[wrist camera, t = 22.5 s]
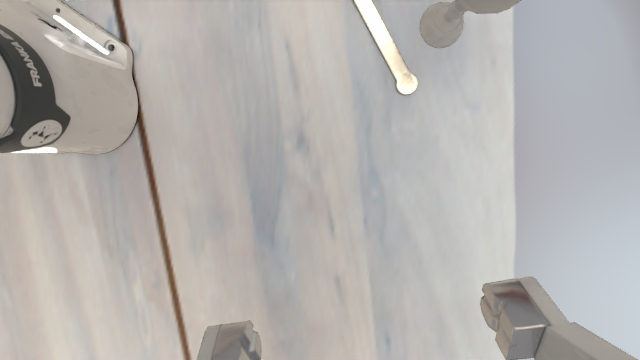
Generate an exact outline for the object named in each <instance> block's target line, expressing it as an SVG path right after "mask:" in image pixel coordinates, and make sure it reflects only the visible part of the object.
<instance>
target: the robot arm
mask: <svg viewBox="0 0 640 360" xmlns="http://www.w3.org/2000/svg"><path fill="white" fill-rule="evenodd" d="M113 46H114V47H115V49H114V51H113V49H112V48H113ZM132 66H133V54H132V51H131V49H130V48H129V46H127V45H126V44H124V43H123V42H121V41H120V40H118V39H117V38H115V37H114V36H112V35H111V34H109V33H108V32H106V31H105V30H103V29H102V28H100V27H99V26H97V25H96V24H94V23H93V22H91V21H90V20H88V19H87V18H85V17H84V16H82V15H81V14H79V13H78V12H76V11H75V10H73V9H72V8H70V7H69V6H67V5H66V4H64V3H63V2H61V1H60V0H0V153H9V152H12V153H49V154H60V153H65V152H78V153H85V154H102V153H107V152H109V151H112V150H114V149H116V148H117V147H119V146H120V145H121V144H123V143H124V142H125V141H126V139H127V138H128V137H129V135H130V134H131V132H132V130H133V128H134V126H135V123H136V119H137V114H138V97H137V92H136V88H135V85H134V81H133V77H132ZM482 291H483V293H484V296H483V297H482V298H481V303H480V305H481V310H482V314H483V316H484V319H485V321H486V323H487V325H488V327H490V328H491V329H492V330H494V331H495V332H497V333H496V339H495V340H496V342H497V344H498V346H499V348H500V350H501V352H502V354H503V355H504V357H505V359H506V360H517V359H526V358H534V359H535V360H637V359H636V358H634V357H633V356H631V355H629V354H627V353H626V352H624V351H622V350H621V349H619V348H617V347H616V346H614V345H612V344H611V343H609V342H607V341H606V340H604V339H602V338H600V337H599V336H597V335H595V334H594V333H592V332H590V331H589V330H587V329H585V328H584V327H582V326H580V325H579V324H577V323H575V322H573V323H569V321H568V320H567V319H566V317H565V316H564V315H563V313H562V312H561V311H560V310H559V309H558V307H557V306H556V304H555V303H554V302H553V300H552V299H551V298H550V297H549V295H548V294H547V293H546V291H545V290H544V289H543V288H542V286H541V285H540V284H539V282H538V281H537V280H536V279H535V278H533V277H530V276H529V277H523V278H517V279H509V280H503V281H497V282H491V283H486V284H484V285H483V288H482ZM261 351H262V350H261V340H260V336H259V334H258V332H256V331H254V330H253V324H252V322H251V321H250V320H249V321H243V322H236V323H230V324H221V325H215V326H209V327H208V328H207V329H206V331H205V333H204V337H203V340H202V343H201V347H200V350H199V354H198V357H197V360H261Z"/></svg>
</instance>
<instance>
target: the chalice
mask: <svg viewBox="0 0 640 360" xmlns="http://www.w3.org/2000/svg"><path fill="white" fill-rule="evenodd" d="M519 1H521V0H456V1H454V2H452V3H449V2H439V3H436V4H433V5H432V6H431V7H429V8H428V9H427V10H426V12H425V13H424V14H423V16H422V19H421V21H420V32H421V36H422V37H423V39H424V41H425V42H426V43H428V44H429V45H430V46H433V47H436V48H444V47H447V46H450V45H451V44H452V43H454V42H455V41H456V40H457V39H458V38H459V36H460V34H461V32H462V30H463V22H464V21H463V15H464V12H465V11H467V10H468V11H471V12H474V13H477V14H487V13H499V12H502V11H504V10H507V9H509V8H511V7H512V6H514V5H515V4H516V3H518V2H519Z"/></svg>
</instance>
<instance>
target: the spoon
mask: <svg viewBox="0 0 640 360" xmlns="http://www.w3.org/2000/svg"><path fill="white" fill-rule="evenodd" d="M353 2H354V4H355V5H356V7H357V9H358V11H359V13H360V15H361V17H362V18H363V20H364V22H365V24H366V26H367V28H368V30H369V32H370V33H371V35H372V37H373V39H374V41H375V43H376V45H377V46H378V48H379V50H380V52H381V54H382V56H383V58H384V60H385V61H386V63H387V65H388V67H389V69H390V71H391V73H392V74H393V76H394V78H395V80H396V89H397V91H398V92H399V93H400V94H402V95H409V94H411V93H413V92H414V91H415V90H416V89H417V86H418V80H417V78H416V76H415V75H414V74H412V73H410V72H409V70H408V68H407V66H406V64H405V62H404V60H403V58H402V56H401V55H400V53H399V51H398V49H397V47H396V45H395V43H394V41H393V39H392V38H391V36H390V34H389V32H388V30H387V28H386V26H385V24H384V22H383V20H382V19H381V17H380V15H379V13H378V11H377V9H376V7H375V5H374V3H373V2H372V0H353Z"/></svg>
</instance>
